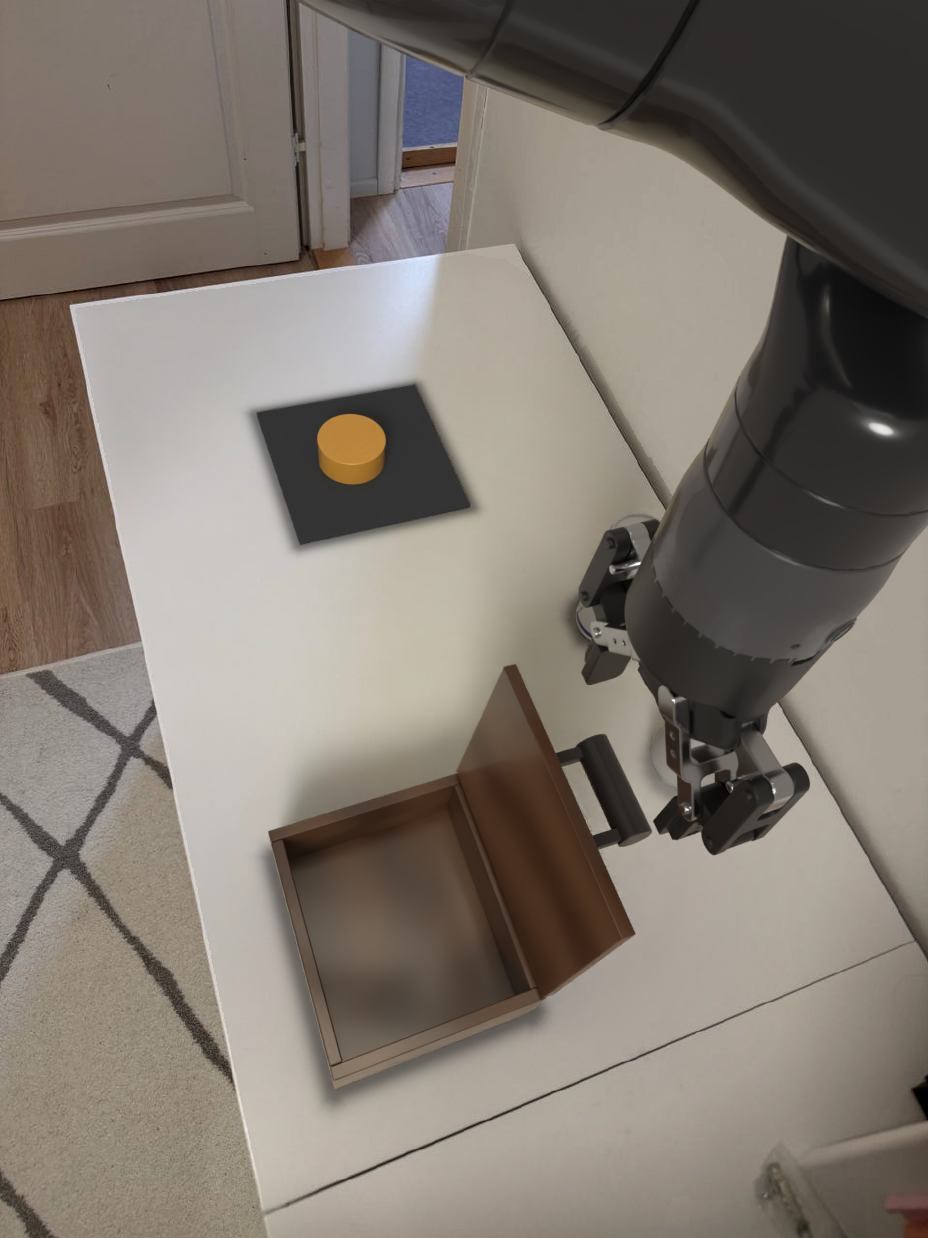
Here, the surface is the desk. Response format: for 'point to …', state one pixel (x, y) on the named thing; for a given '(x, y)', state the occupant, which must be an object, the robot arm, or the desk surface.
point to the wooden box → (400, 928)
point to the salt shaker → (660, 760)
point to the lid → (549, 834)
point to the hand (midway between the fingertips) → (635, 747)
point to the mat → (397, 494)
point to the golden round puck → (351, 449)
